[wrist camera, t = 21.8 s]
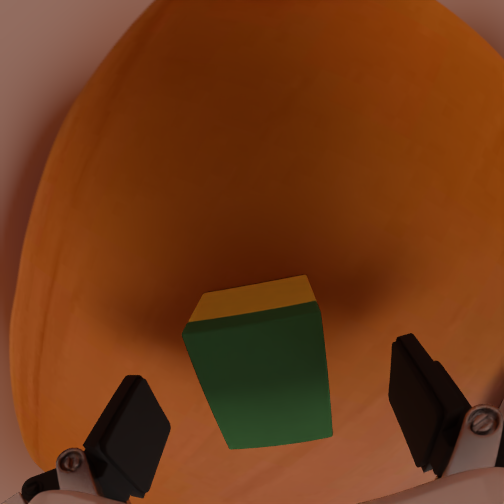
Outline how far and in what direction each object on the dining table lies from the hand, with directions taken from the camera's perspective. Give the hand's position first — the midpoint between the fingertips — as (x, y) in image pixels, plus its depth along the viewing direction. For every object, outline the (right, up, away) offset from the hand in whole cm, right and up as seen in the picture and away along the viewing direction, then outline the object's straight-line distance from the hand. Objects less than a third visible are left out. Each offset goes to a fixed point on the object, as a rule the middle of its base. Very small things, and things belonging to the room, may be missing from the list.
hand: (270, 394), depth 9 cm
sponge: (0, 0, +5) cm, 5 cm away
